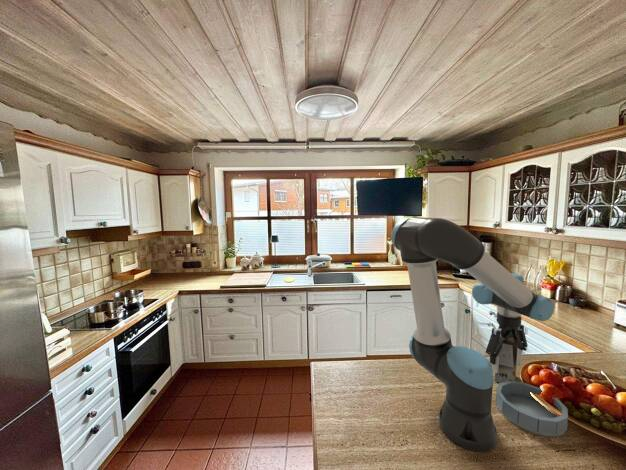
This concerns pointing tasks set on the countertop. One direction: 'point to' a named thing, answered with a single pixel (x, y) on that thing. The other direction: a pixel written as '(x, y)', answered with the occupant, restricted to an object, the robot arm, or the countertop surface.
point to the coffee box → (507, 361)
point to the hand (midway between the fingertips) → (505, 367)
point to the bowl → (530, 409)
